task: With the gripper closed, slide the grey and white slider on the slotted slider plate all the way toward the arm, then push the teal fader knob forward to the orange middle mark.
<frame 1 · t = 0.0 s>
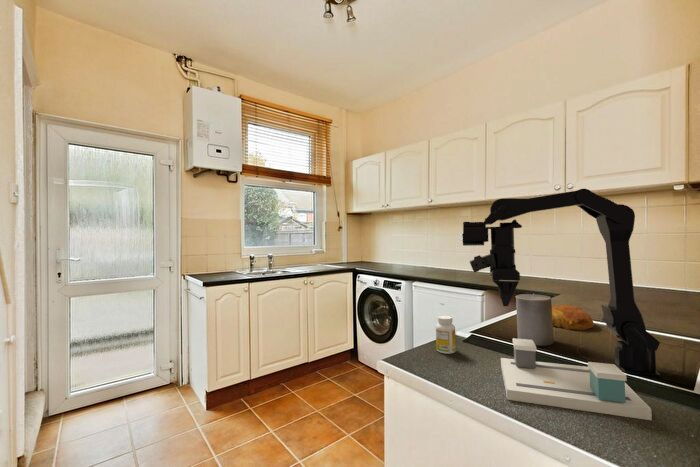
hand: (504, 302, 88), 15 cm above the counter, tool pointing down, fingers open, 9 cm apart
pillar candle: (534, 341, 101), on the counter
croissant: (568, 326, 117), on the counter
teal knob: (606, 381, 62), point 5 cm above the counter, slide at -6.0 cm
slotted slider plate: (562, 388, 70), on the counter
supplement bottle: (446, 351, 94), on the counter
grey and white slider: (524, 352, 78), point 5 cm above the counter, slide at 6.5 cm
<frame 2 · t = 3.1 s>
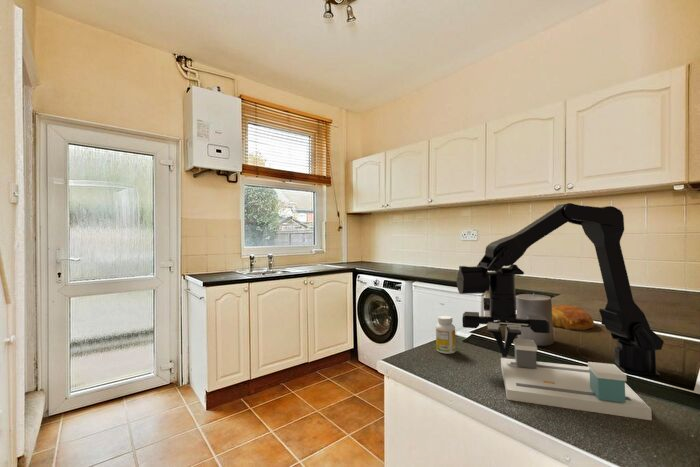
hand: (504, 356, 79), 3 cm above the counter, tool pointing down, fingers closed
grey and white slider: (525, 353, 78), point 5 cm above the counter, slide at 6.3 cm, touching gripper
everything else where it was.
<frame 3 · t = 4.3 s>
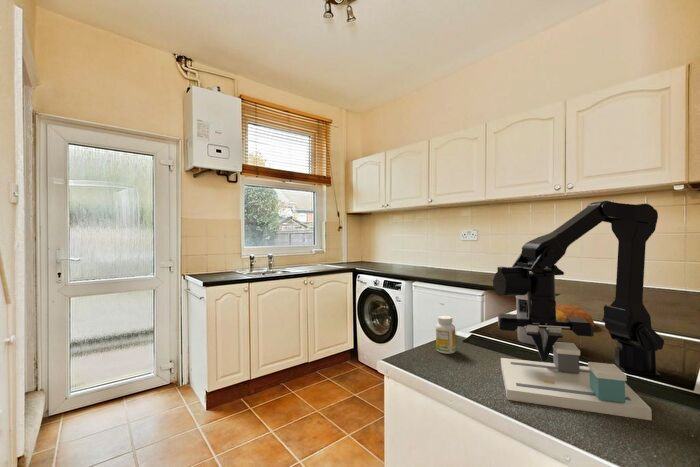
hand: (543, 360, 76), 3 cm above the counter, tool pointing down, fingers closed
grey and white slider: (565, 356, 75), point 5 cm above the counter, slide at -2.0 cm, touching gripper
everything else where it was.
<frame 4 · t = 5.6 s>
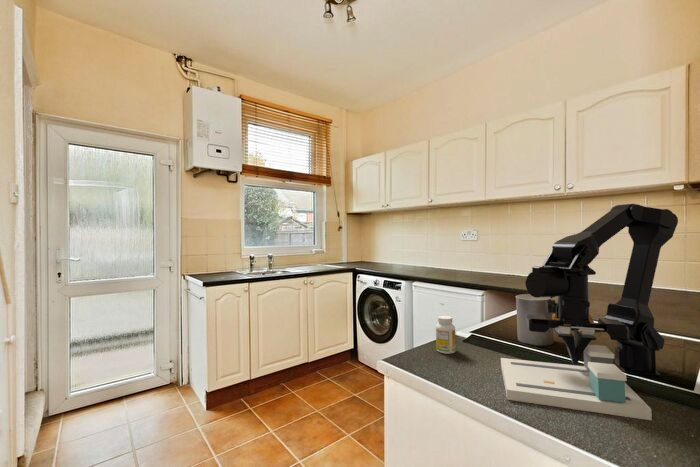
hand: (574, 363, 74), 3 cm above the counter, tool pointing down, fingers closed
grey and white slider: (597, 359, 72), point 5 cm above the counter, slide at -8.1 cm, touching gripper
everything else where it was.
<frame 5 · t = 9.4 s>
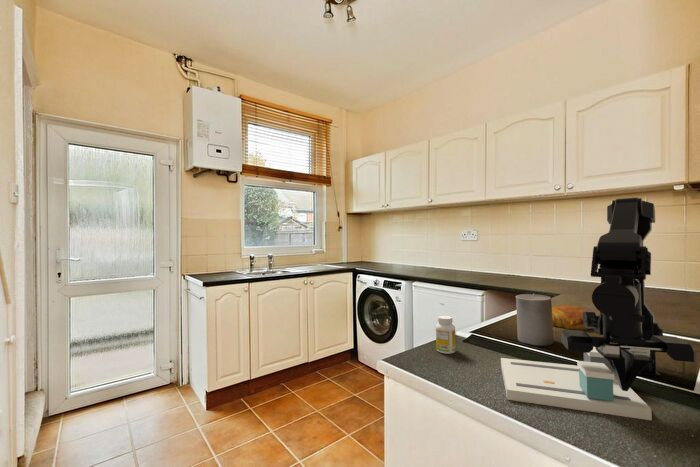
hand: (623, 390, 61), 4 cm above the counter, tool pointing down, fingers closed
teal knob: (595, 380, 63), point 5 cm above the counter, slide at -4.2 cm, touching gripper
grey and white slider: (597, 359, 72), point 5 cm above the counter, slide at -8.1 cm
everything else where it was.
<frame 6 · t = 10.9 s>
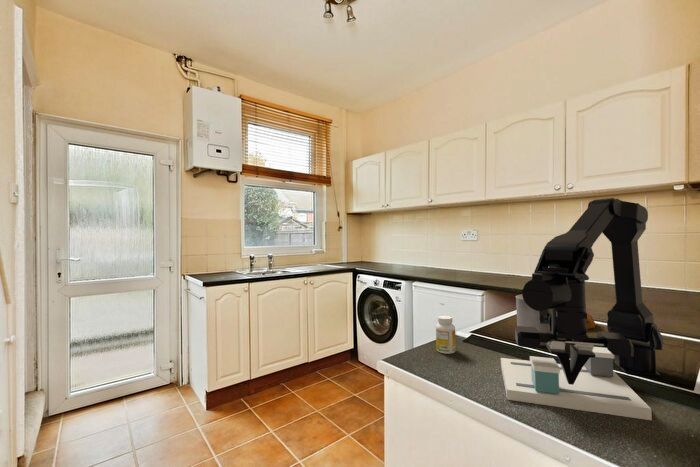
hand: (570, 383, 64), 4 cm above the counter, tool pointing down, fingers closed
teal knob: (544, 374, 66), point 5 cm above the counter, slide at 4.3 cm, touching gripper
everything else where it was.
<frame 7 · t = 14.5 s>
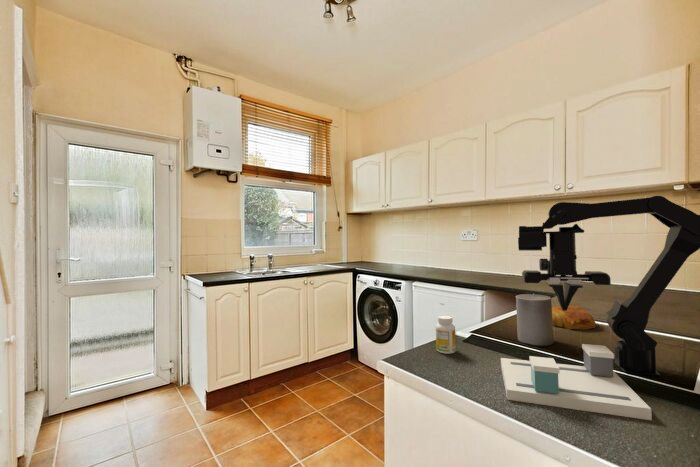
hand: (564, 310, 85), 13 cm above the counter, tool pointing down, fingers closed
teal knob: (544, 374, 66), point 5 cm above the counter, slide at 4.4 cm
everything else where it was.
at the end: grey and white slider slide at -8.1 cm; teal knob slide at 4.4 cm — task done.
